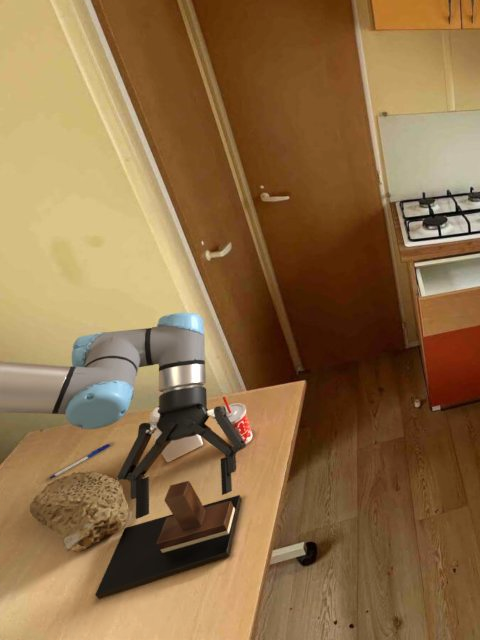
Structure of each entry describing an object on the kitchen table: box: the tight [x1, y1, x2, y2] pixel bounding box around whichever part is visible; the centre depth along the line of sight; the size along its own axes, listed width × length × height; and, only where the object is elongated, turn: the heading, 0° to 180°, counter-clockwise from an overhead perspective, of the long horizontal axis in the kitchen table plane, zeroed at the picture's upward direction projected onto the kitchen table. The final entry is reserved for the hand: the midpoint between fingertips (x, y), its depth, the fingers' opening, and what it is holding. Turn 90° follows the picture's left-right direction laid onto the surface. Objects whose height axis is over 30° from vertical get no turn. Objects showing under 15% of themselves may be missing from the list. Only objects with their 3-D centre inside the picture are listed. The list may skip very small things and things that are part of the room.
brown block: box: [156, 480, 235, 553], centre depth 79 cm, size 11×5×12 cm, turn 108°
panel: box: [94, 494, 243, 600], centre depth 81 cm, size 20×12×2 cm, turn 110°
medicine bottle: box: [148, 405, 204, 463], centre depth 98 cm, size 7×7×12 cm
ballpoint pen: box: [49, 443, 111, 480], centre depth 97 cm, size 10×1×1 cm, turn 147°
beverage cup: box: [215, 396, 253, 447], centre depth 99 cm, size 6×6×14 cm
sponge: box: [29, 470, 129, 553], centre depth 85 cm, size 13×8×20 cm
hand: (185, 504), depth 79 cm, fingers open, 13 cm apart
